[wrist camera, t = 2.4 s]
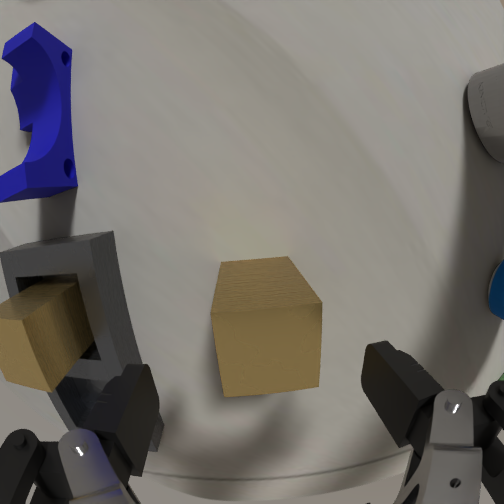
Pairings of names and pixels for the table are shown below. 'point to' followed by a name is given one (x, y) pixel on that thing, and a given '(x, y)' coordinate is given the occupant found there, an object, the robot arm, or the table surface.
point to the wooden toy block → (266, 328)
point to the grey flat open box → (98, 311)
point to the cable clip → (41, 115)
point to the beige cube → (43, 332)
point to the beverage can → (497, 291)
